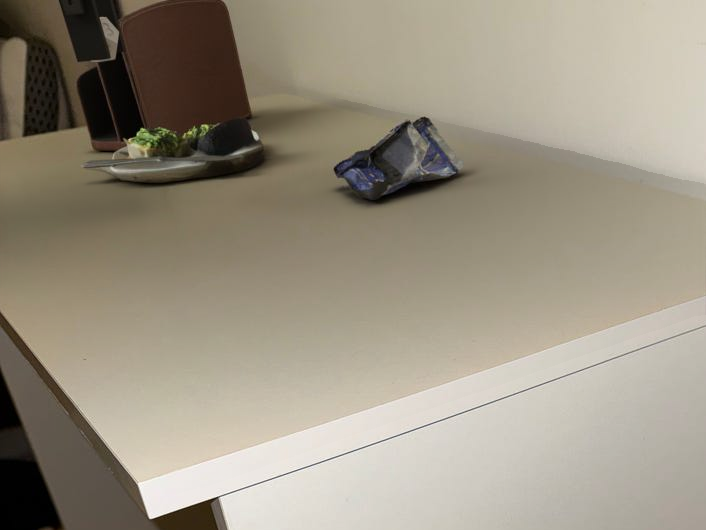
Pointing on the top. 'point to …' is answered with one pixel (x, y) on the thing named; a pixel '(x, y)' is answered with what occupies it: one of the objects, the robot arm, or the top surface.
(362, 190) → the snack package
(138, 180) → the salad plate
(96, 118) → the letter holder
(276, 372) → the top surface
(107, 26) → the game die
